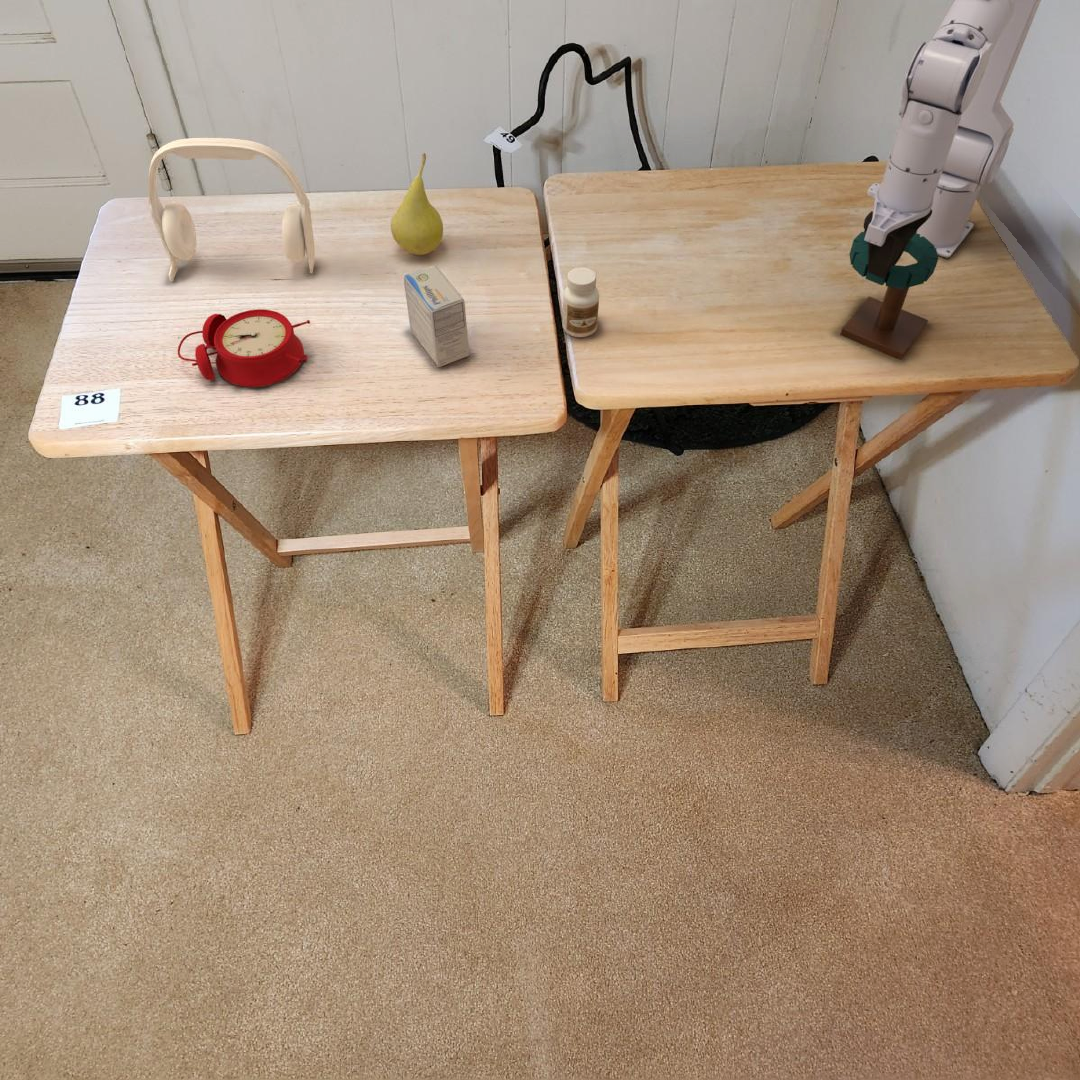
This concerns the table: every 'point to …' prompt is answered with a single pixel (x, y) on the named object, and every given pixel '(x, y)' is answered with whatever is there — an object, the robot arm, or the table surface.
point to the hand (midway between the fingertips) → (881, 268)
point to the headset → (178, 221)
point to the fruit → (417, 220)
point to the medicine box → (437, 315)
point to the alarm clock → (249, 348)
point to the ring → (897, 274)
